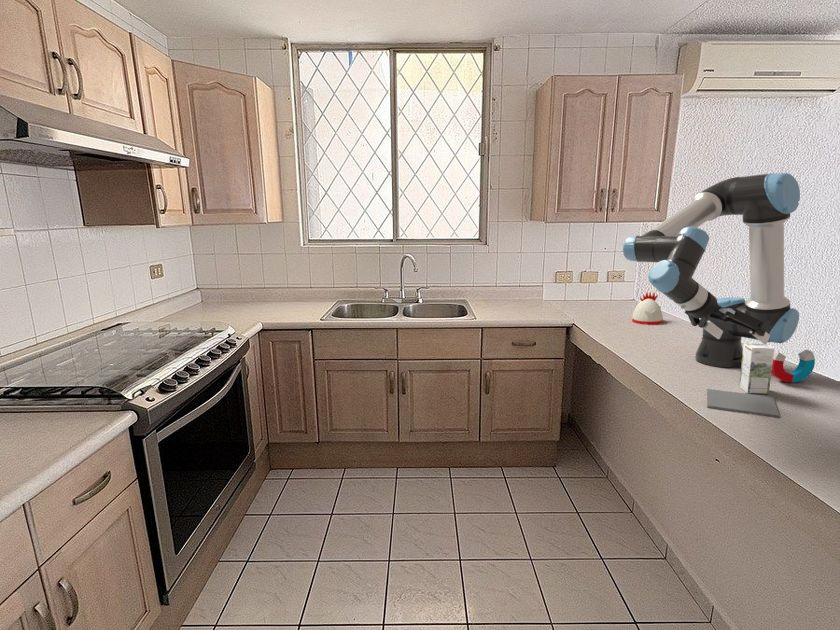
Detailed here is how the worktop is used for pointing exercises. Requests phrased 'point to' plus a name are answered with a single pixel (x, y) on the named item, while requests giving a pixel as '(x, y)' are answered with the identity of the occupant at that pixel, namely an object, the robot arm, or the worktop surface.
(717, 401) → the rubber mat
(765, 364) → the syrup box
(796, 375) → the magnet
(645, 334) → the worktop surface
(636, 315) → the cream beanie hat
